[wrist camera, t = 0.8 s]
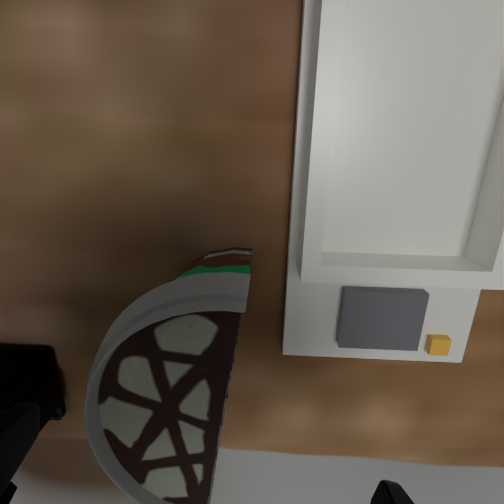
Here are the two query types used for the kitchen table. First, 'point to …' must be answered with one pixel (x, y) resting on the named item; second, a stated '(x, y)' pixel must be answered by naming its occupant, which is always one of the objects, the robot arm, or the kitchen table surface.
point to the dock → (395, 178)
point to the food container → (168, 382)
